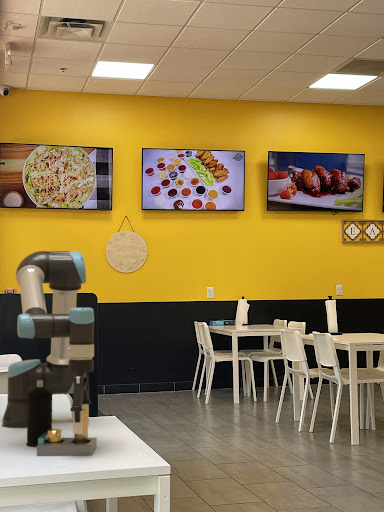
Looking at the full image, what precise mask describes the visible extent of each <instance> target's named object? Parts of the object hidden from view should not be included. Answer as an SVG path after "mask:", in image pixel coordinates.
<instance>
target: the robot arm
mask: <svg viewBox="0 0 384 512" xmlns="http://www.w3.org/2000/svg"><path fill="white" fill-rule="evenodd" d="M83 255H84V254H82V252H79V251H71V250H63V251H62V250H48V251H47V250H38V251H34V252H32V253H30V254H28V255H26V257H25V256H24V258H23V259H22V260H21V261H20V263H19V264H18V266H17V268H16V272H15V280H16V283H17V284H18V286H19V288H20V289H19V291H20V298H21V299H20V301H21V311H22V313H20V314H19V315H18V316H17V323H16V324H17V336H18V337H19V338H21V339H29V340H32V339H47V338H48V339H51V340H50V342H51V343H50V354H49V355H48V356H47V357H46V362H44V363H43V362H42V363H41V359H39V358H38V359H37V358H35V359H26V360H20V361H16V362H13V363H11V364H9V366H8V368H7V376H6V377H7V405H6V407H5V411H4V413H3V417H2V424H3V425H4V426H3V425H2V426H3V427H5V426H7V427H6V428H13V429H14V428H27V394H28V393H29V392H30V391H31V390H32V389H34V388H36V387H37V381H38V380H43V387H44V388H47V389H49V390H50V391H51V393H53V395H68V394H72V404H71V407H70V412H72V434H82V433H83V411H82V409H87V410H88V426H89V425H90V423H89V419H90V418H89V414H90V413H89V411H90V408H89V407H90V404H92V400H91V399H90V388H89V387H90V386H89V373H90V372H94V370H95V364H94V363H95V360H94V357H95V340H94V339H95V337H94V336H95V311H94V309H93V308H92V307H77V296H78V295H77V294H78V292H79V291H80V290H81V289H82V285H84V284H86V283H87V271H86V269H87V268H86V263H85V259H84V256H83ZM43 284H48V288H49V290H50V291H51V292H52V313H48V311H47V306H46V299H45V292H44V286H43Z"/></svg>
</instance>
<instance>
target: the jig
mask: <svg viewBox="0 0 384 512" xmlns="http://www.w3.org/2000/svg"><path fill="white" fill-rule="evenodd" d="M97 439H98V438H97V437H88V443H74V437H62V429H59V428H54V429H53V428H52V429H51V430H48V433H43V434H42V435H41V436H40V437H39V438H38V445H37V447H36V456H37V457H45V456H46V457H57V456H58V457H61V456H63V457H66V456H72V457H73V456H76V457H77V456H82V457H83V456H93V454H94V453H95V451H96V449H97V443H98V441H97Z"/></svg>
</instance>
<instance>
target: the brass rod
mask: <svg viewBox="0 0 384 512" xmlns="http://www.w3.org/2000/svg"><path fill="white" fill-rule="evenodd" d="M82 411H83V433H82V434H74V436H73V438H74V443H88V438H89V431H88V430H89V428H88V427H89V425H88V410H87V409H82Z"/></svg>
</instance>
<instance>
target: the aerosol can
mask: <svg viewBox="0 0 384 512" xmlns="http://www.w3.org/2000/svg"><path fill="white" fill-rule="evenodd" d="M53 395H54V394H53V393H51V391H50V390H49V389H47V388H44V387H43V380H38V381H37V387H36V388H34V389H32V390H31V391H30V392H29V393H28V394H27V427H26V443H25V445H26V446H27V447H32V448H37V445H38V438H39V437H40V436H41V435H42V434H43V433H48V430H51V429H53Z"/></svg>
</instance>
